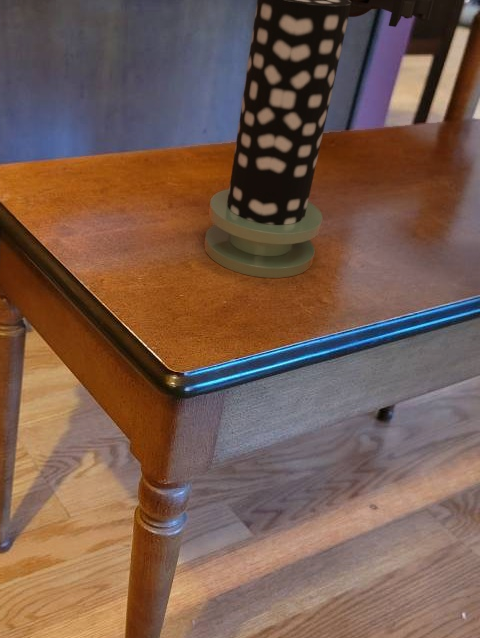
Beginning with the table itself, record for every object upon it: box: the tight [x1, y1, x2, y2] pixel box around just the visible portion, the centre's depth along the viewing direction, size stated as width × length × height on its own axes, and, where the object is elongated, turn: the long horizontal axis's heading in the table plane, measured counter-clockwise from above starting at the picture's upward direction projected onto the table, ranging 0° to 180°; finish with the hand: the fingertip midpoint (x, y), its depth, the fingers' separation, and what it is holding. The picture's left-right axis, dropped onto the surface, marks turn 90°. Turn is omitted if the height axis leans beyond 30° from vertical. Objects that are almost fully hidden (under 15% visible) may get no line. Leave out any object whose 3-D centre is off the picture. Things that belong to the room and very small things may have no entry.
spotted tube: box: [227, 0, 351, 225], centre depth 72 cm, size 8×8×20 cm
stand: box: [203, 188, 324, 279], centre depth 80 cm, size 12×12×5 cm
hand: (331, 1), depth 79 cm, fingers open, 13 cm apart
